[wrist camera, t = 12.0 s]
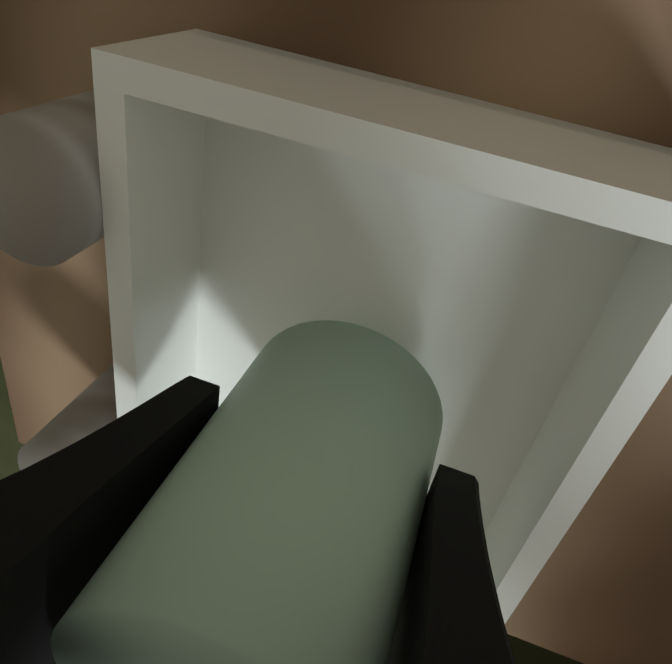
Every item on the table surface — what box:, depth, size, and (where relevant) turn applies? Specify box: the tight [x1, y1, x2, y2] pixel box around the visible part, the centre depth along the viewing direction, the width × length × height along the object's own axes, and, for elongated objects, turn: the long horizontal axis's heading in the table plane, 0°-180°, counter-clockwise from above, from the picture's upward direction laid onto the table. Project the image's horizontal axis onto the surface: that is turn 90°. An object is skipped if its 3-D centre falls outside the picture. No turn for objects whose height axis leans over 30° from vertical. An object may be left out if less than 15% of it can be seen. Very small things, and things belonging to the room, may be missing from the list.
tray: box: [91, 29, 672, 624], centre depth 12 cm, size 9×12×3 cm
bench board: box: [0, 0, 672, 664], centre depth 12 cm, size 28×16×5 cm, turn 80°
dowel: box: [51, 320, 443, 664], centre depth 9 cm, size 4×4×6 cm
